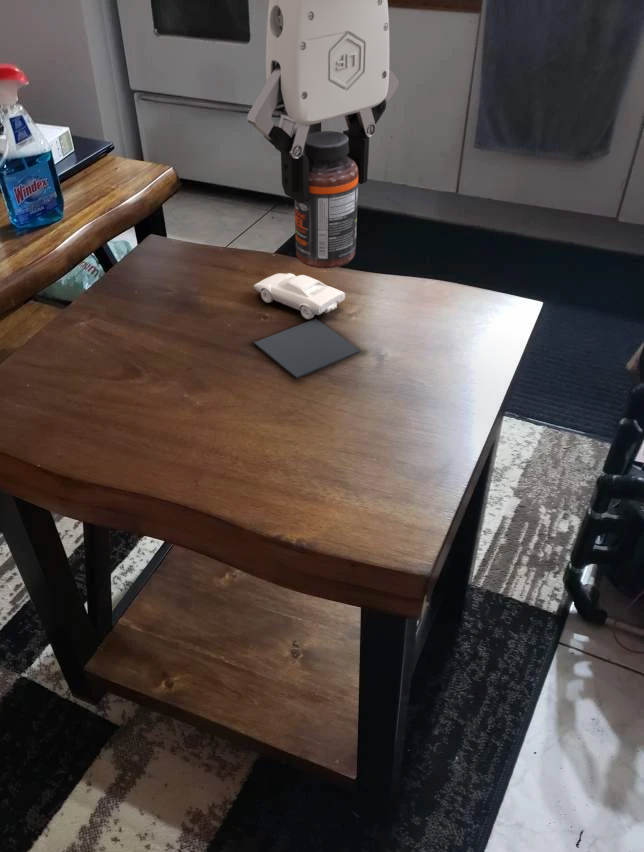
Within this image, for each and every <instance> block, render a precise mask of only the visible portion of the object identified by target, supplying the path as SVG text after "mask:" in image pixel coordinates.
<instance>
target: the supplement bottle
mask: <svg viewBox="0 0 644 852" xmlns="http://www.w3.org/2000/svg"><path fill="white" fill-rule="evenodd" d="M348 144H349V139H348V136H347V135H345V134H344V133H343V132H340V131H334V130H323V131H322V130H321V131H316V132H313V133H310V134H308V135H307V138H306V142H305V146H304V150H303V155H304V156H306V157H308V160H309V199H308V201H307V202H304V203H300V202H298V201H297V200H295V199H294V231H295V233H294V234H295V235H294V237H295V238H294V239H295V250H296V251H295V253H296V257H297V259H298V261H299V262H301V263H302V264H303V265H305V266H308V267H311V268H315V269H328V270H329V269H335V268H340V267H343V266H344V265H347V264H349V262H351V261H352V260H353V259H354V257H355V255H356V248H357V225H358V224H357V223H358V202H359V201H358V199H359V198H358V196H359V183H358V167H357V165H356V163H355V162H354V161H353V160H352V159H351V158H349V157H348V156H347V154H348V153H349V145H348Z"/></svg>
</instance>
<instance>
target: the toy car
mask: <svg viewBox="0 0 644 852" xmlns="http://www.w3.org/2000/svg"><path fill="white" fill-rule="evenodd" d="M253 288H254V290H255V291H257V292H259V293H260V297H261V299H262V300H263V302H265V303H266V304H269V303H272V302H273V301H275V302H278V303H281V304H282V305H285V306H288V307H290V308H293V309H295V310H297V311H300V314H301V317H303V318H304V319H306V320H312V319H314V317H315V315H316V316H320V315H322V314H323V313H325V314H327V313H328V314H329V313H330V312H331V311H335V310H336V309H337V308H338V305H339V304H341V303H342V302H343V301H344V300H345V299H346V292H345V291H342V290H340V289H337V288H335V287H333V286H329V285H326V283H323V282H322V281H320V280H318V279H317V278H316V279H315V278H314V277H311V276H308V275H305V274H299V275H295V274H294V273H290V272H288V273H280V272H279V273H275V274H273V275H270V276H268V277H266V278H264V279H262V280H260V281H258V282H257V283H255V284H253Z"/></svg>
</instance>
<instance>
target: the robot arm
mask: <svg viewBox="0 0 644 852" xmlns="http://www.w3.org/2000/svg"><path fill="white" fill-rule="evenodd" d="M267 9H268V10H267V21H266V41H265V84H264V85H263V87H262V89H261V91H260V93H259V94H258V96H257V97H256V100H255V101H254V102H253V104H252V107H251V108H250V110H249V112H248V113H247V117H246V120H247V122H248V123H249V125H251V127H253V128H254V129H255V130H256V131H257V132H259V133H260V134H261V135H262V136H263V137H264V138H265V139H266V141H268V142H269V143H270V144H271V145H272V146H273V147H274V148H275V150H276V151H278V152H280V167H281V169H280V170H281V186H282V189H283V192H284V194H285V196H287V197H289V198H290V199H293V200H294V201H295V200H297V201H298V202H300V203H304V202H307V201H308V199H309V160H308V157H306V156H305V154H304V146H305V142H306V138H307V136H308V135H309V131H310V128H311V125H316V124H321V123H324V122H327V121H331V120H334V119H338V118H342V117H344V120H345V123H346V126H347V128H348V129H345V130H342V133H344V134H345V135H347V136H348V139H349V144H348V145H349V153H348V154H347V156H348V157H349V158H351V159H352V160H353V161H354V162H355V163H356V165H357V167H358V185H363V184H366V183H367V182H368V170H369V156H370V155H369V154H370V138H371V137H373V136H374V135H375V134H376V131H377V123H378V122H379V120H381V119H380V118H381V117H382V115H384V112H385V111H386V109H387V104H389V102H390V100H391V99H392V97H393V96H394V94H395V93H396V91H397V90H398V88H399V86H400V80H399V78H398V77H397V75H396V74H395V73H394V72H393V71H392V69H391V68H390V17H389V3H388V0H269V1H268V8H267ZM273 114H277V115H280V119H279V122H278V124H277V123H276V122H275V120H274V119H273Z"/></svg>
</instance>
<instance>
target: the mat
mask: <svg viewBox="0 0 644 852" xmlns="http://www.w3.org/2000/svg"><path fill="white" fill-rule="evenodd" d="M253 344H254V346H256V347H257V348H258V349H259V350H261V351H262V352H263V353H264V354H266V355H267V356H268V357H269V358H270V359H271V360H273V361H274V362H275V363H277V364H278V365H279V366H280V367H281V368H283V369H284V370H285V371H286V372H288V373H289V375H291V376H293V377H294V379H299V378H301V377H303V376H304V377H305V376H306V375H309V374H311V373H313V372H315V371H318V370H320V369H323V368H327V367H328V366H330V365H333V364H335V363H337V362H339V361H342V360H344V359H347V358H349V357H352V356H354V355H356V354H360V353H361V349H359V348H358V347H357V346H355V345H354V344H352V343H351V342H349V341H348V340H346V338H344V337H343V336H341V335H340V334H338V333H337V332H336V331H334V330H333V329H332V328H330V327H328V326H327V325H325V323H323V322H321V321H320V320H319V319H318V318H312V319H310V320H308V321H306V322H303V323H301V324H298V325H296V326H295V325H294V326H293V327H290V328H288V329H285V330H283V331H280V332H277V333H275V334H272V335H270V336H267V337H264V338H262V339H259V340H256V341H254V342H253Z"/></svg>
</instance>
